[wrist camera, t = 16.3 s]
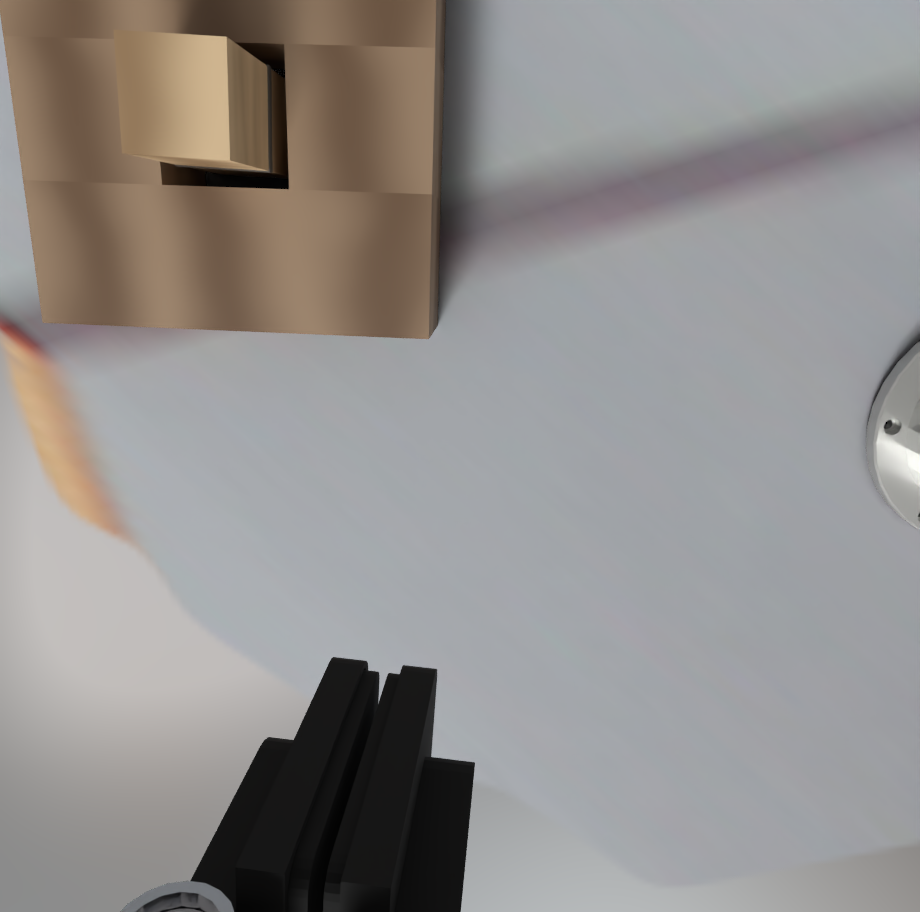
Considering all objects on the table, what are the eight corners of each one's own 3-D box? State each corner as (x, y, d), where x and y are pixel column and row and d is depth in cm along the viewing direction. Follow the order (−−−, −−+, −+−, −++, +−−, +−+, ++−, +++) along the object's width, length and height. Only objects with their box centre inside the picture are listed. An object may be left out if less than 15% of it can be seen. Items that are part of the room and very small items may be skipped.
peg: (302, 90, 34) (227, 35, 25) (302, 180, 36) (231, 161, 26) (218, 84, 35) (112, 28, 25) (221, 175, 36) (120, 154, 26)
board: (447, -81, 32) (438, -136, 27) (437, 325, 37) (428, 339, 33) (54, -89, 33) (-22, -144, 28) (99, 311, 38) (42, 322, 33)
